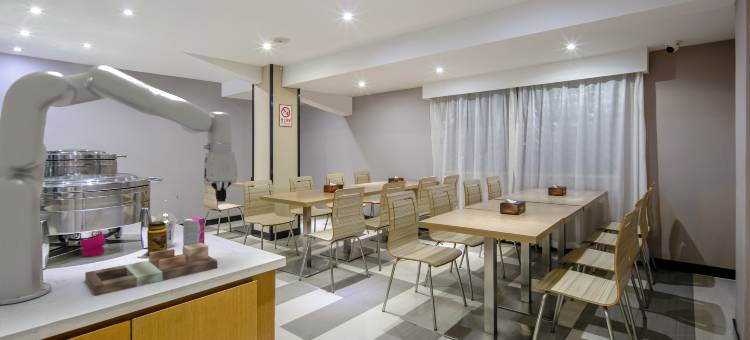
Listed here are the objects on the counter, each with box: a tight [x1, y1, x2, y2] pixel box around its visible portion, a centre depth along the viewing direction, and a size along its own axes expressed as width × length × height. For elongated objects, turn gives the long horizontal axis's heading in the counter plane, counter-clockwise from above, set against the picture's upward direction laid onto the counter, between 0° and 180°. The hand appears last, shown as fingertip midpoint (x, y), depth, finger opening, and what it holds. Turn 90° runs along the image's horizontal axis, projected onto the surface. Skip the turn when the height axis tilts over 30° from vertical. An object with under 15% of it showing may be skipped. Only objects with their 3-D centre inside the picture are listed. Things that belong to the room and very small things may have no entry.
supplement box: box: [182, 217, 206, 247], centre depth 142 cm, size 6×6×12 cm
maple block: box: [182, 243, 209, 262], centre depth 121 cm, size 6×6×4 cm
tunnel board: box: [84, 248, 218, 296], centre depth 112 cm, size 32×15×6 cm, turn 136°
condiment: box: [137, 221, 168, 259], centre depth 132 cm, size 7×8×12 cm
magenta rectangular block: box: [79, 231, 106, 257], centre depth 131 cm, size 7×7×20 cm
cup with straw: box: [152, 196, 179, 249], centre depth 143 cm, size 8×9×20 cm
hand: (221, 201), depth 126 cm, fingers closed
